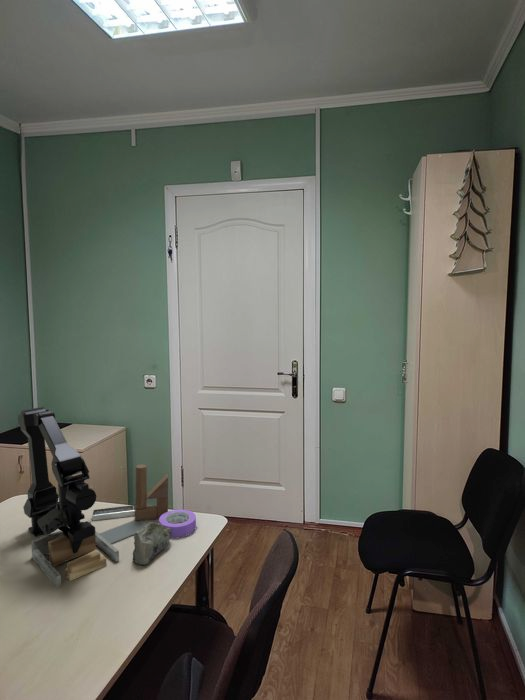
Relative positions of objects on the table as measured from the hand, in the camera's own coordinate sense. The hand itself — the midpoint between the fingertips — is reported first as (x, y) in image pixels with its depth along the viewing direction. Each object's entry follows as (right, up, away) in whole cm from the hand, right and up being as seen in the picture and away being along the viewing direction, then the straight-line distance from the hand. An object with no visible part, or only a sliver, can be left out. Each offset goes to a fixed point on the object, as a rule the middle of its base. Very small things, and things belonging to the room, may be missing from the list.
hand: (72, 550), depth 128 cm
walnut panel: (0, -2, 0) cm, 2 cm away
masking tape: (+27, -1, +16) cm, 32 cm away
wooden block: (+17, +1, +23) cm, 28 cm away
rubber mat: (+10, 0, +14) cm, 17 cm away
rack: (+1, -2, -1) cm, 2 cm away
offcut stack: (+6, -3, -6) cm, 9 cm away
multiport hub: (+4, 0, +25) cm, 25 cm away
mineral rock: (+23, -2, +2) cm, 23 cm away
